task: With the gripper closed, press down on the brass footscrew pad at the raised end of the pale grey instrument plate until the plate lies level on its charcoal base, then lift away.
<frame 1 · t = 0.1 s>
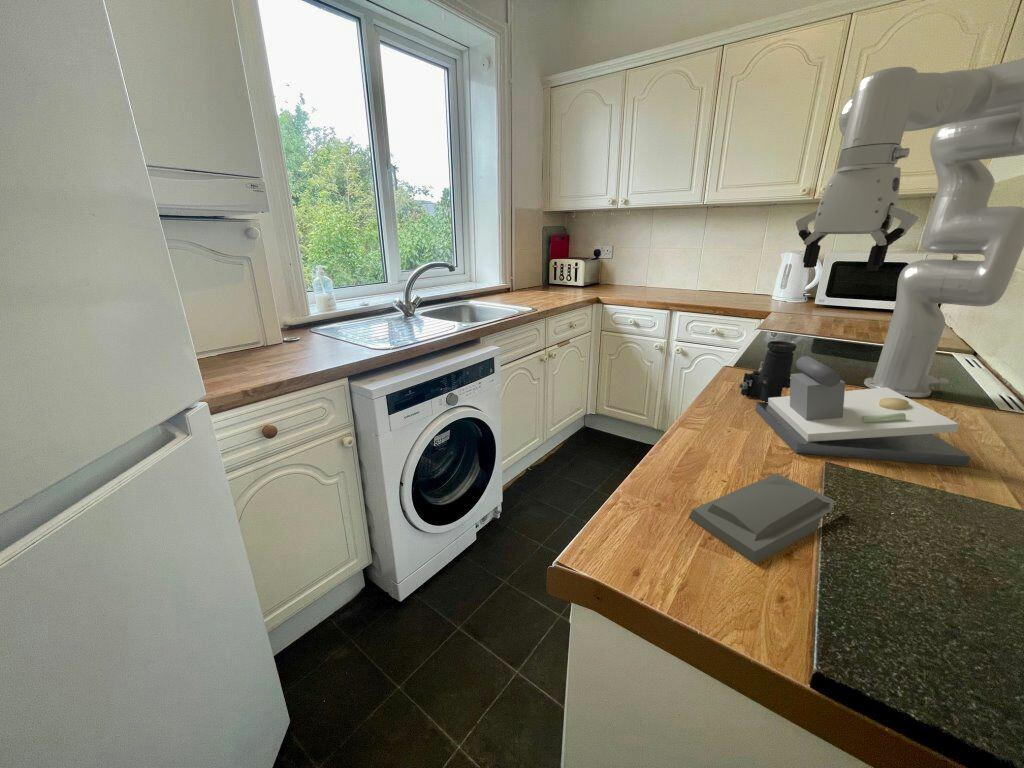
hand: (839, 268, 73), 31 cm above the countertop, tool pointing down, fingers open, 9 cm apart
leveling plate: (852, 388, 78), point 10 cm above the countertop, hinge at 10.0°, touching leveling base
scope: (765, 399, 99), on the countertop
leveling base: (845, 434, 81), on the countertop
soap mold: (764, 520, 57), on the countertop
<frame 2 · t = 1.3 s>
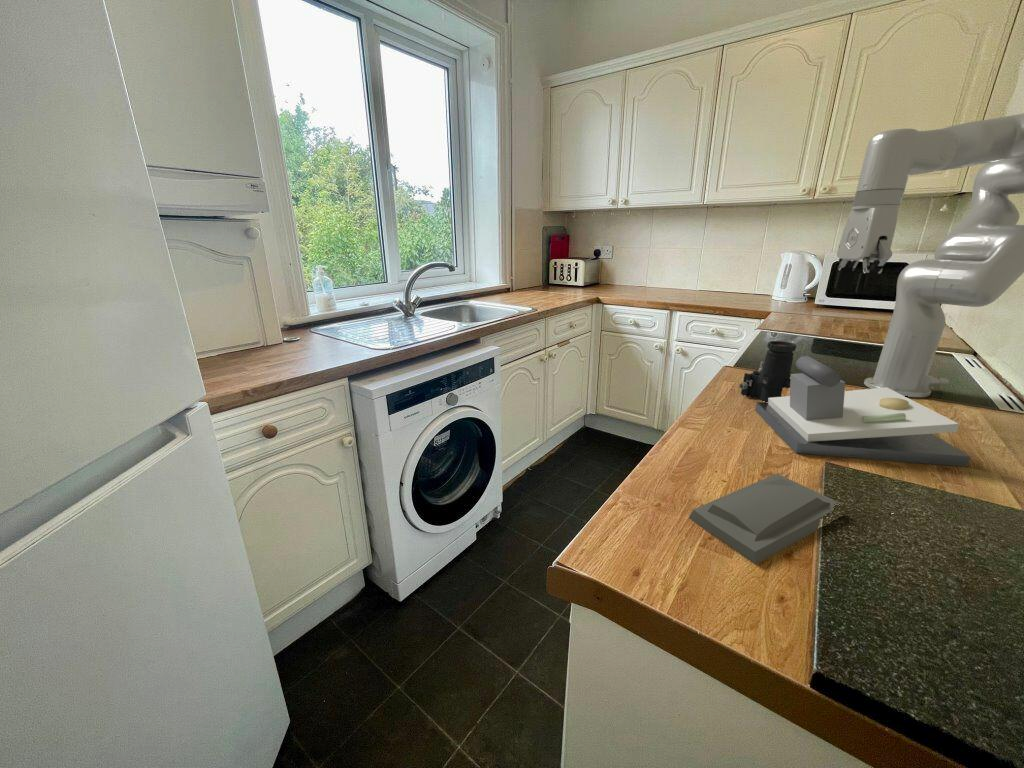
hand: (853, 290, 89), 26 cm above the countertop, tool pointing down, fingers open, 7 cm apart
nothing on the countertop moved.
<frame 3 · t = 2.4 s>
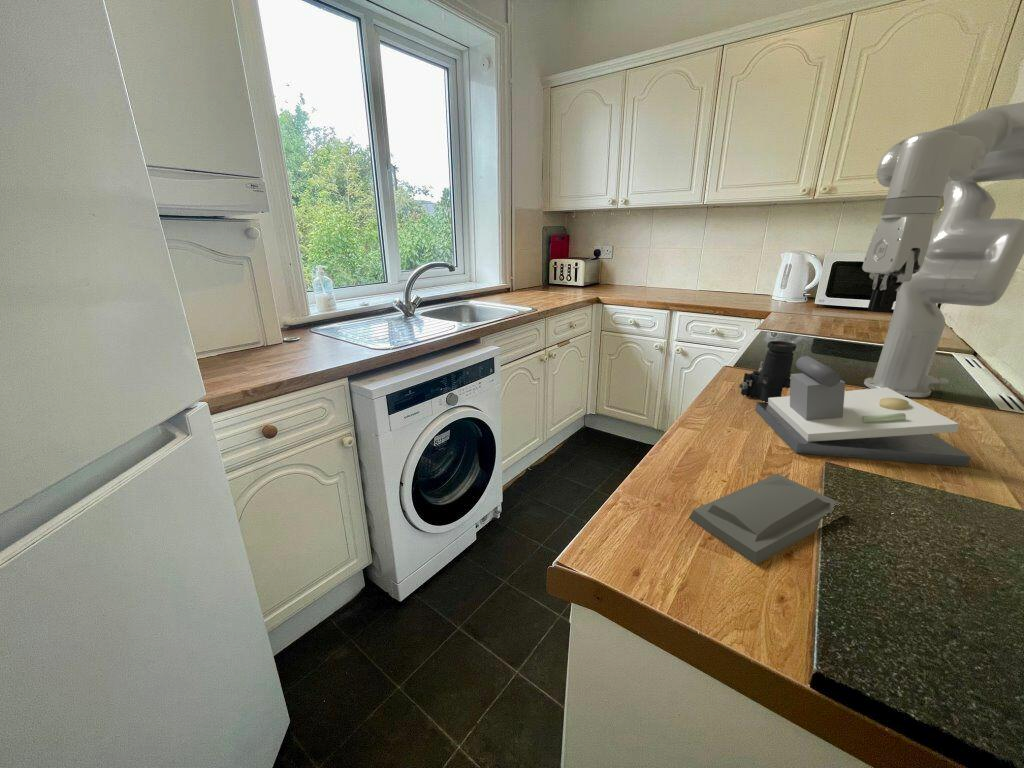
hand: (878, 310, 81), 23 cm above the countertop, tool pointing down, fingers closed
nothing on the countertop moved.
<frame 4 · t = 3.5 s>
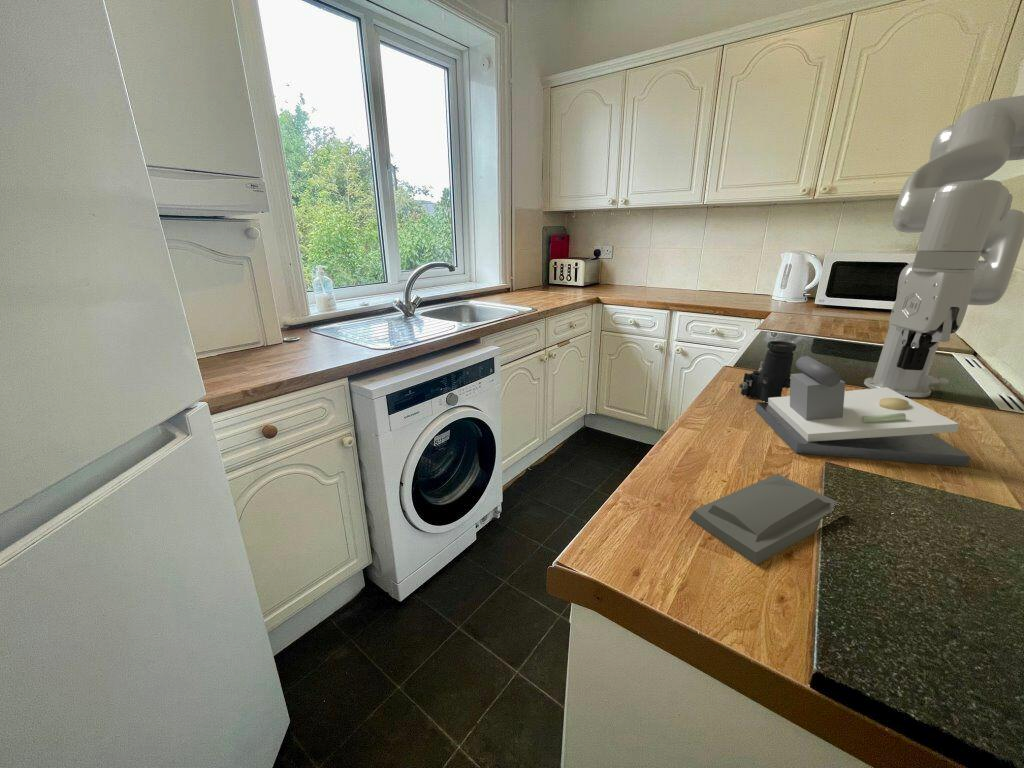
hand: (909, 368, 74), 14 cm above the countertop, tool pointing down, fingers closed
nothing on the countertop moved.
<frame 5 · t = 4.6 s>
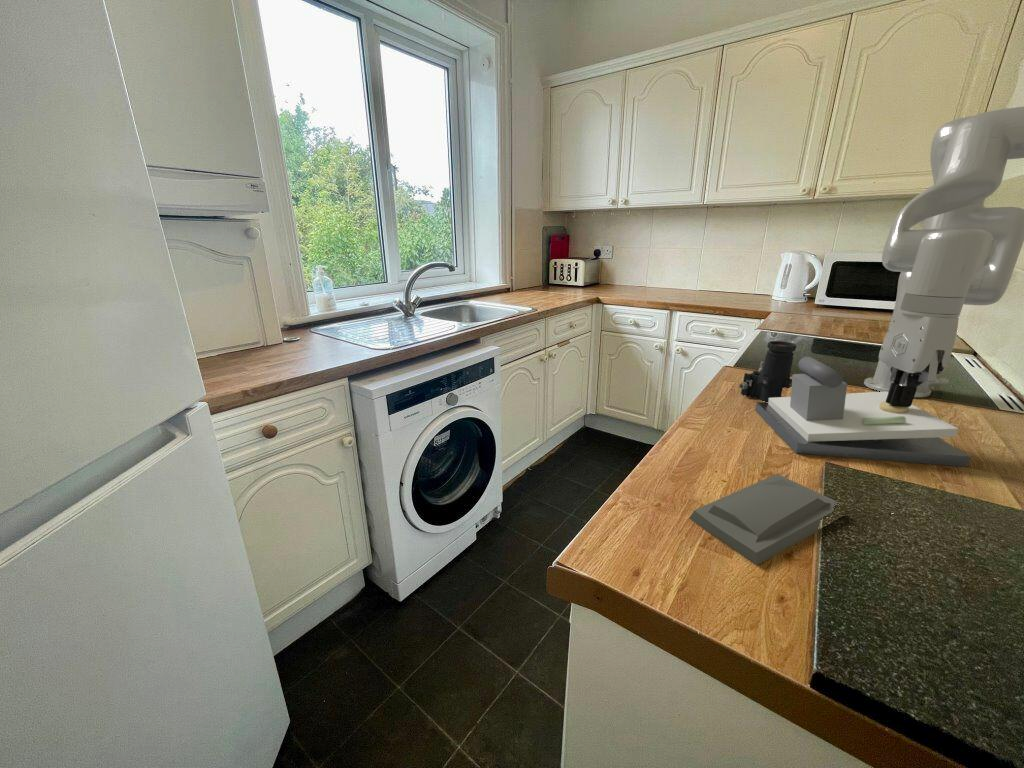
hand: (897, 404, 77), 7 cm above the countertop, tool pointing down, fingers closed
leveling plate: (853, 390, 78), point 9 cm above the countertop, hinge at 7.7°, touching gripper, leveling base
everything else where it was.
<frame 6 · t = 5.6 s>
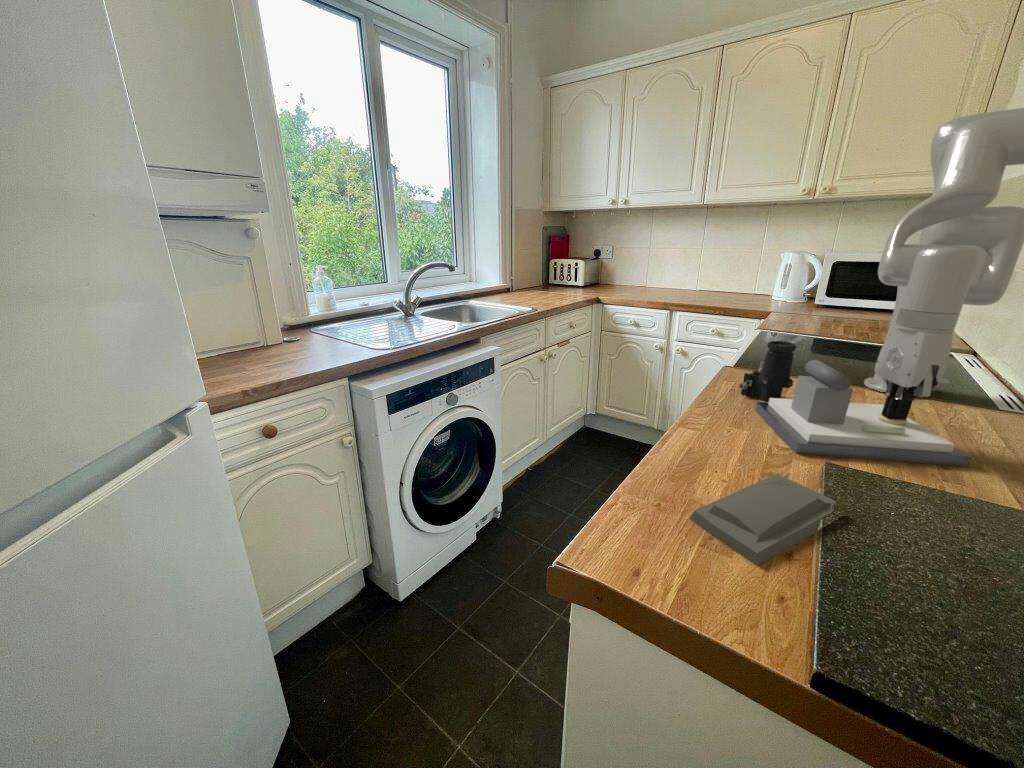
hand: (893, 417, 78), 4 cm above the countertop, tool pointing down, fingers closed
leveling plate: (856, 397, 78), point 8 cm above the countertop, hinge at 0.0°, touching gripper, leveling base
everything else where it was.
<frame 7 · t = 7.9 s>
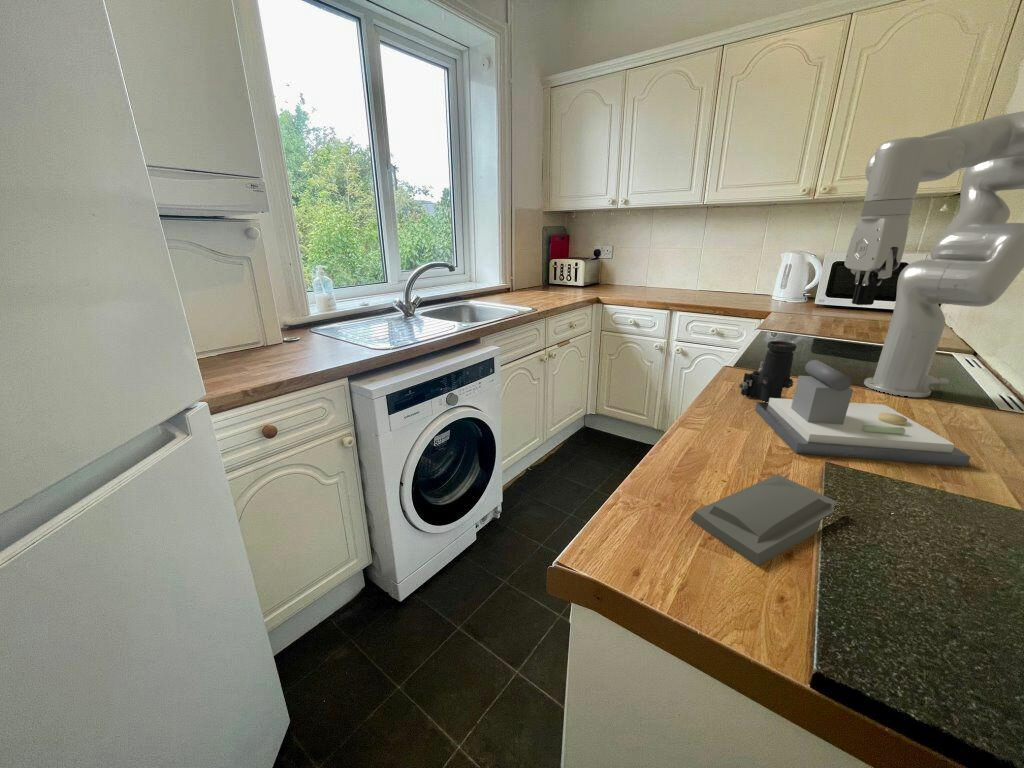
hand: (862, 304, 87), 23 cm above the countertop, tool pointing down, fingers closed
leveling plate: (856, 397, 78), point 8 cm above the countertop, hinge at 0.0°, touching leveling base
everything else where it was.
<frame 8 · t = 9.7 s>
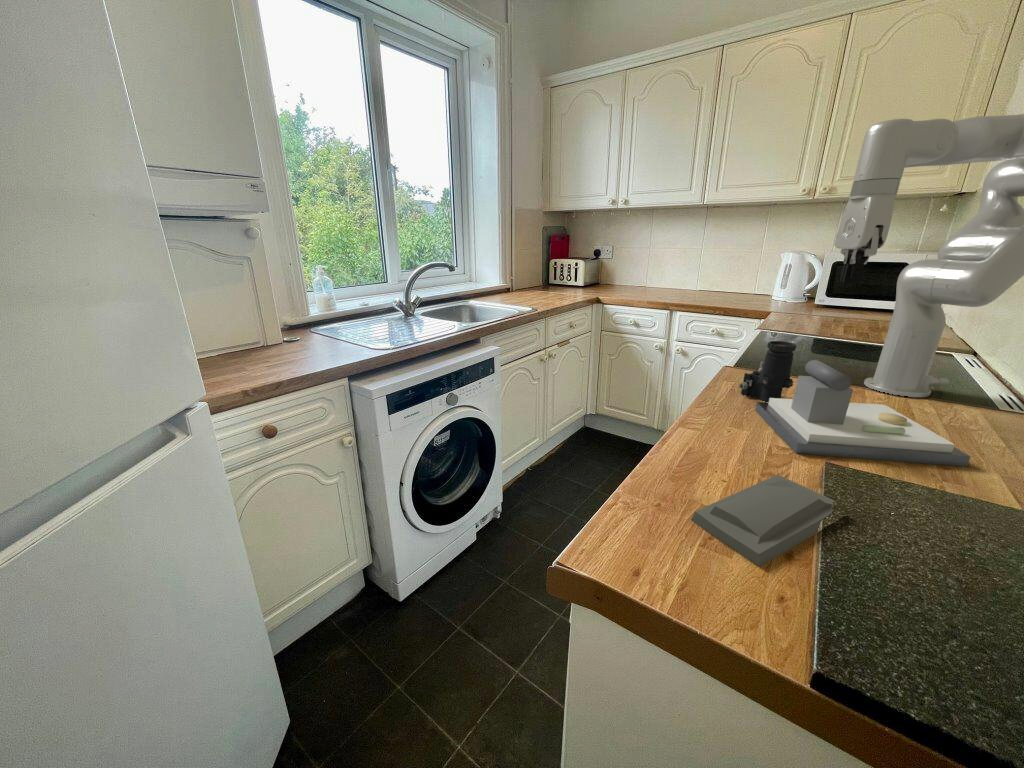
hand: (849, 282, 90), 27 cm above the countertop, tool pointing down, fingers closed
nothing on the countertop moved.
at the end: leveling plate at +0° (first picture: +10°); scope moved 0.2 cm from its start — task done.
